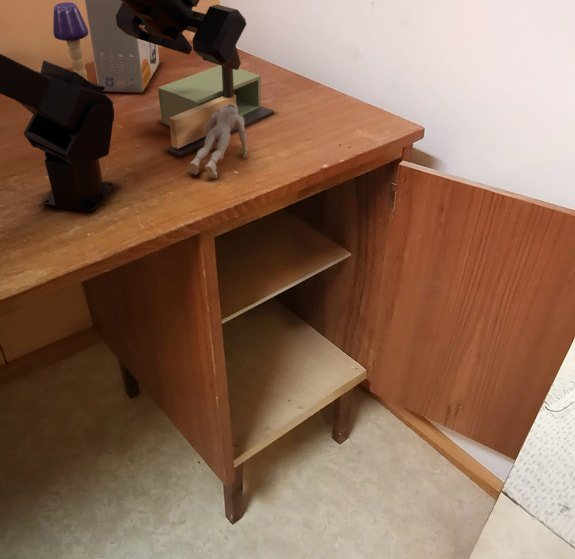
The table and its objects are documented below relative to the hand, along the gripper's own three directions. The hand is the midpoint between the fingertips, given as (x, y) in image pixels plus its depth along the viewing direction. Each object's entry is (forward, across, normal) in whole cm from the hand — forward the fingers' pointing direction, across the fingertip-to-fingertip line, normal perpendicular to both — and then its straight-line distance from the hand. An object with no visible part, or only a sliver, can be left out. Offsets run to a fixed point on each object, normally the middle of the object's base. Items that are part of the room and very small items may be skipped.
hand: (213, 58), depth 83 cm
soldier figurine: (+4, -6, +12) cm, 14 cm away
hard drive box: (+12, +27, +3) cm, 30 cm away
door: (+6, 0, +10) cm, 11 cm away
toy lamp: (+1, +18, +15) cm, 23 cm away
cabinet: (+9, +4, +7) cm, 12 cm away
